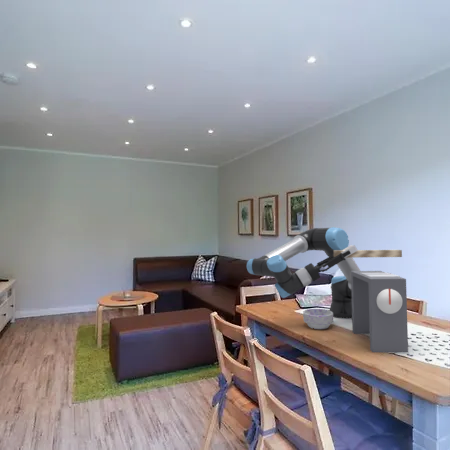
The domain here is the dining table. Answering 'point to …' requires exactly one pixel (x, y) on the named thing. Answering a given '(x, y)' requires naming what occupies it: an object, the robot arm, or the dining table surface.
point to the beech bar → (372, 253)
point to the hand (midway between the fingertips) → (354, 247)
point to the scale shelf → (380, 309)
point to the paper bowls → (318, 318)
